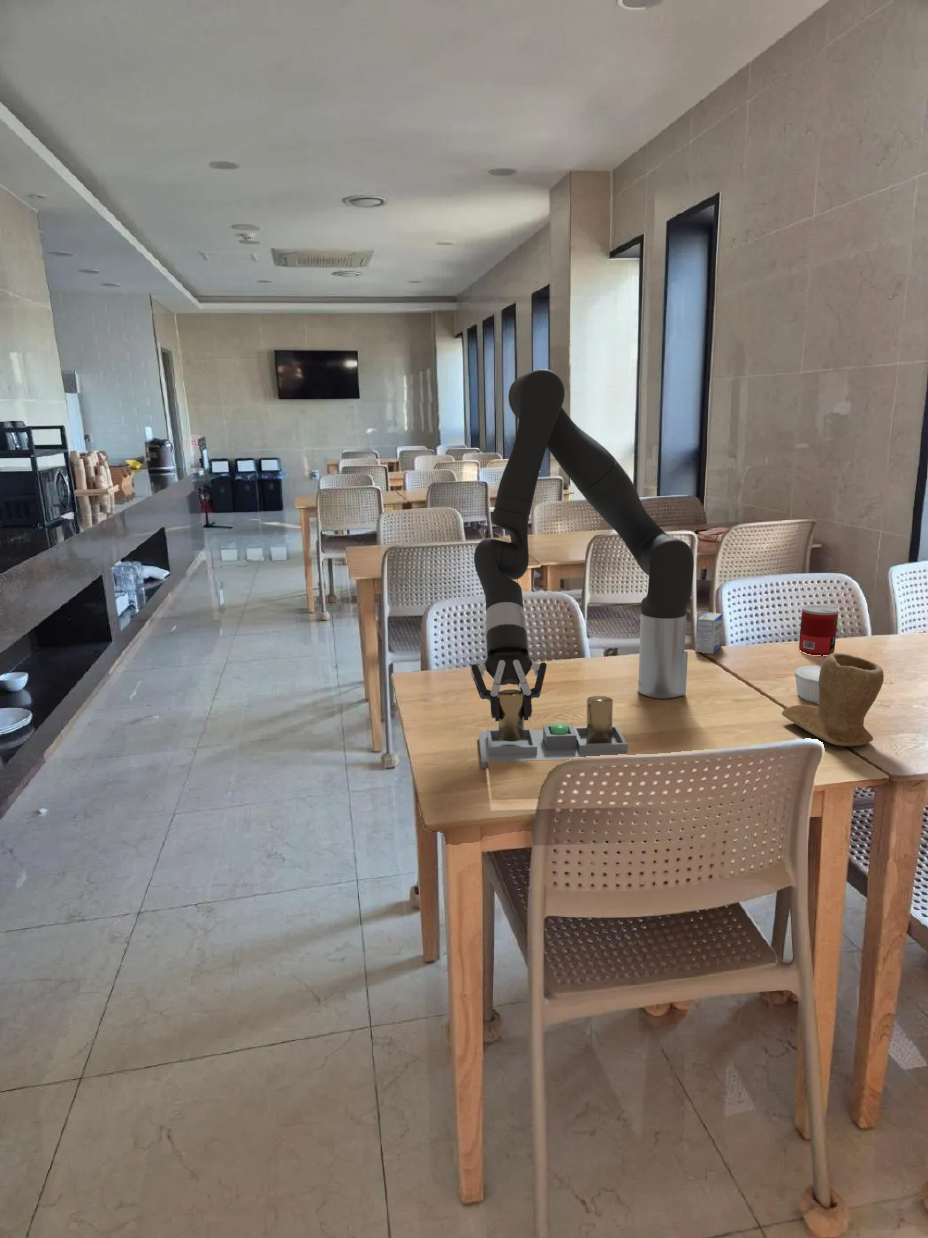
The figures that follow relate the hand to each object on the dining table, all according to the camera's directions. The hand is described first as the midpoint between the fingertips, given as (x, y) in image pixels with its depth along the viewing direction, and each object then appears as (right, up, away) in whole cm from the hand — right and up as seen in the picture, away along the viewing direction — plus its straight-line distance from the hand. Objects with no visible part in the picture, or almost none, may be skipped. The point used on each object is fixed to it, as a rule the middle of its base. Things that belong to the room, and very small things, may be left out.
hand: (512, 718), depth 134 cm
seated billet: (+16, -5, +3) cm, 17 cm away
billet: (0, -3, +3) cm, 4 cm away
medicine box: (+53, +9, +61) cm, 81 cm away
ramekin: (+66, +1, +26) cm, 71 cm away
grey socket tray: (+7, -6, +4) cm, 10 cm away
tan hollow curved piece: (+59, -4, +8) cm, 60 cm away
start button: (+9, -4, +3) cm, 10 cm away
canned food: (+78, +9, +56) cm, 97 cm away
